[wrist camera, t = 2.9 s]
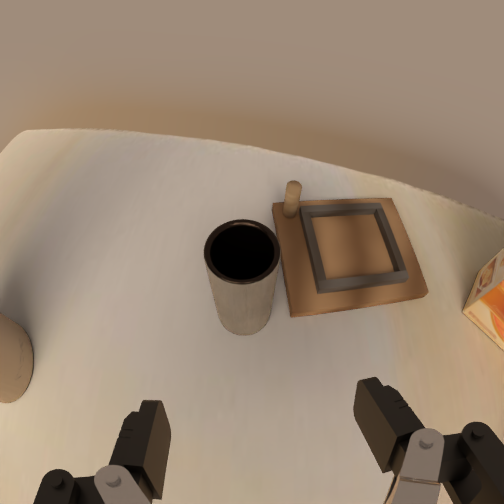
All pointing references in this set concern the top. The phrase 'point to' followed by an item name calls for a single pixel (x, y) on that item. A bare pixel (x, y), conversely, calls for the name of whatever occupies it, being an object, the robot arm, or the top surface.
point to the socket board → (344, 254)
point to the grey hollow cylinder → (242, 273)
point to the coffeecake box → (489, 300)
